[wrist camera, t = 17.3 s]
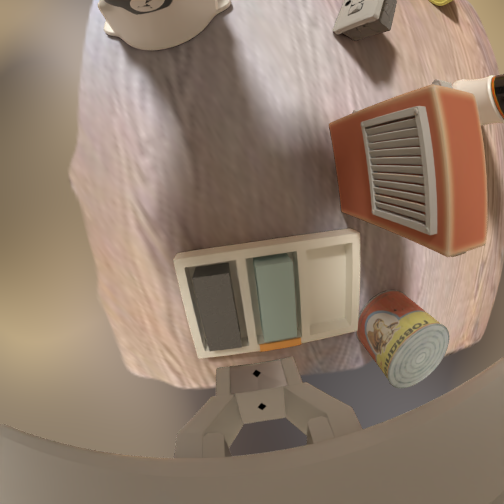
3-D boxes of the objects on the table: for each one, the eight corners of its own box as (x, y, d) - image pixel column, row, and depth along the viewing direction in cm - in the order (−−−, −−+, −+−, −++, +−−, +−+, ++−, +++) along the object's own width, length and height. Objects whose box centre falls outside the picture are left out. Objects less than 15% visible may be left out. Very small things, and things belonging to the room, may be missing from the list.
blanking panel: (252, 256, 37) (255, 266, 33) (285, 252, 37) (292, 261, 33) (261, 327, 40) (264, 342, 36) (291, 322, 40) (297, 336, 36)
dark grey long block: (195, 267, 36) (192, 278, 33) (228, 262, 37) (229, 273, 33) (210, 335, 40) (209, 351, 36) (240, 331, 40) (241, 347, 36)
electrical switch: (344, -2, 27) (372, -26, 18) (370, 14, 28) (402, -6, 19) (330, 33, 29) (361, 8, 20) (359, 50, 30) (394, 31, 22)
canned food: (376, 281, 40) (419, 316, 29) (419, 299, 42) (459, 331, 31) (344, 340, 43) (373, 385, 31) (388, 350, 45) (420, 389, 33)
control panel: (364, 113, 33) (378, 214, 37) (320, 114, 33) (335, 222, 37) (476, 80, 12) (489, 258, 17) (418, 64, 12) (438, 277, 16)
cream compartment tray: (177, 252, 36) (172, 260, 33) (350, 228, 37) (361, 233, 34) (200, 347, 41) (198, 360, 37) (350, 322, 42) (358, 332, 39)
